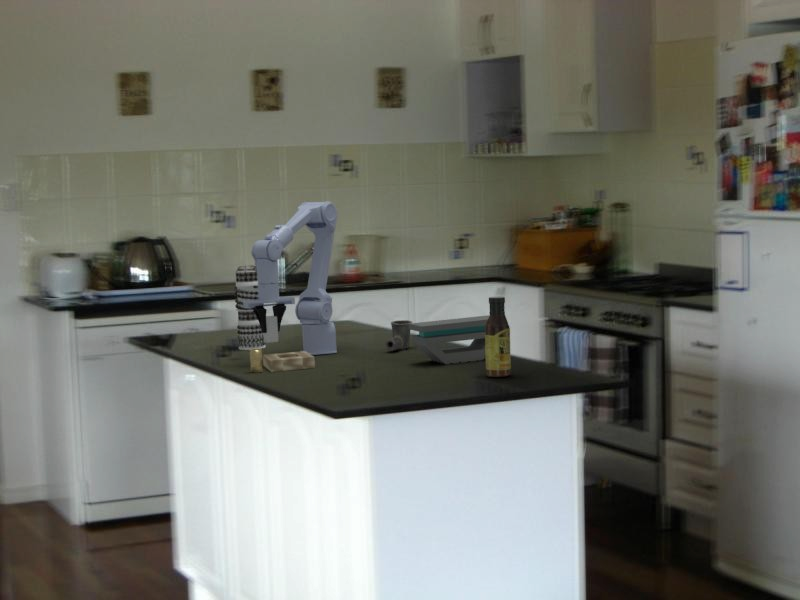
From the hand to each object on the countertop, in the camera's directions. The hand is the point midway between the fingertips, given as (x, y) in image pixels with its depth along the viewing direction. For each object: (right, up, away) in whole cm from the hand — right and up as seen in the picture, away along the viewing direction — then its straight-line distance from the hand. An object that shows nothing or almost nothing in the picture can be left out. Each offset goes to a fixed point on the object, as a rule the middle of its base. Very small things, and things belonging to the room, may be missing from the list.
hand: (270, 331), depth 351 cm
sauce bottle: (+61, -10, -34) cm, 70 cm away
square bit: (0, -3, 0) cm, 3 cm away
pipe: (+36, -6, +17) cm, 40 cm away
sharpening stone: (+52, -8, -7) cm, 53 cm away
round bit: (-2, -10, -12) cm, 16 cm away
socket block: (+6, -9, -5) cm, 12 cm away
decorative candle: (-9, -6, +34) cm, 36 cm away
